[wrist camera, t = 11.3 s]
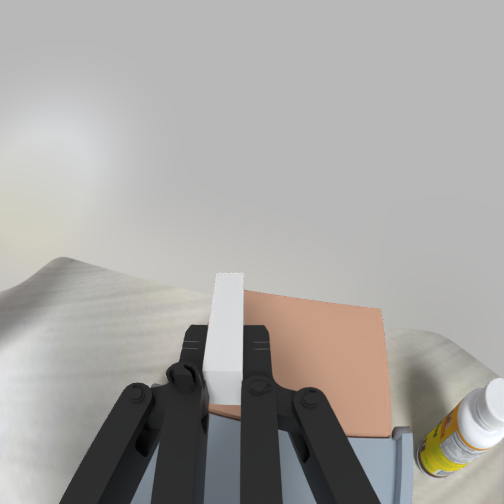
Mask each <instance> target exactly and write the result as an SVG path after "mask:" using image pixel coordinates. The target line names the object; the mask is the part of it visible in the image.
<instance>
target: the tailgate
mask: <svg viewBox="0 0 504 504" xmlns="http://www.w3.org/2000/svg"><path fill="white" fill-rule="evenodd" d="M207 325H209V322H208V324H207ZM244 325H265V327H266V328H267V330H268V332H269V337H270V350H271V362H272V374H273V378H274V380H275V381H276V382H277V383H278V384H279V385H280V386H282V387H284V388H287V389H291V390H295V391H298V390H300V389H302V388H304V387H314V388H317V389H319V390H321V391H322V392H323V393H324V394H325V395H326V397H327V399H328V401H329V403H330V405H331V407H332V409H333V411H334V413H335V415H336V417H337V419H338V421H339V423H340V425H341V427H342V428H343V430H344V432H345V434H346V436H347V437H356V438H387V437H388V436H389V435H390V434H391V402H390V385H389V372H388V361H387V352H386V343H385V335H384V328H383V321H382V314H381V309H377V308H368V307H360V306H351V305H343V304H335V303H328V302H320V301H313V300H306V299H299V298H292V297H286V296H279V295H273V294H266V293H260V292H254V291H248V290H244ZM208 409H209V413H211V414H215V415H218V416H222V417H226V418H230V419H234V420H238V421H241V405H221V404H210V401H209V408H208Z"/></svg>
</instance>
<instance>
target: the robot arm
mask: <svg viewBox="0 0 504 504" xmlns="http://www.w3.org/2000/svg"><path fill="white" fill-rule="evenodd" d="M166 376H167V378H168V381H169V383H168V384H166V385H162V386H157V387H152V388H149V387H148V386H147V385H145V384H144V383H132V384H130V385H128V386H127V387H126V388H125V389H124V390H123V392H122V394H121V395H120V397H119V399H118V400H117V402H116V404H115V405H114V407H113V409H112V410H111V412H110V414H109V415H108V417H107V419H106V420H105V422H104V424H103V425H102V427H101V429H100V431H99V432H98V434H97V436H96V437H95V439H94V441H93V443H92V444H91V446H90V448H89V450H88V451H87V453H86V455H85V457H84V458H83V460H82V462H81V464H80V466H79V467H78V469H77V471H76V473H75V475H74V477H73V478H72V480H71V482H70V484H69V486H68V488H67V490H66V491H65V493H64V495H63V497H62V499H61V501H60V503H59V504H130V503H131V501H132V499H133V497H134V495H135V493H136V491H137V488H138V486H139V484H140V482H141V480H142V478H143V476H144V473H145V471H146V469H147V467H148V465H149V463H150V461H151V458H152V456H153V454H154V452H155V450H156V448H157V446H158V444H159V448H158V454H157V460H156V467H155V474H154V480H153V488H152V495H151V503H150V504H204V489H205V472H206V457H207V443H208V430H209V417H210V414H209V409H208V408H209V401H210V404H221V405H241V431H240V504H283V497H282V481H281V465H280V450H279V436H278V430H282V431H286V432H288V435H289V438H290V440H291V443H292V445H293V448H294V450H295V453H296V455H297V458H298V460H299V463H300V465H301V467H302V470H303V472H304V475H305V477H306V480H307V482H308V484H309V487H310V489H311V492H312V494H313V496H314V499H315V501H316V503H317V504H381V502H380V500H379V498H378V497H377V495H376V493H375V491H374V489H373V487H372V485H371V483H370V481H369V479H368V477H367V475H366V473H365V471H364V469H363V467H362V465H361V463H360V462H359V460H358V458H357V456H356V454H355V452H354V450H353V448H352V446H351V444H350V442H349V440H348V438H347V436H346V434H345V432H344V430H343V428H342V427H341V425H340V423H339V421H338V419H337V417H336V415H335V413H334V411H333V409H332V407H331V405H330V403H329V401H328V399H327V397H326V395H325V394H324V393H323V392H322V391H321V390H319V389H317V388H314V387H304V388H302V389H300V390H298V391H295V390H291V389H287V388H284V387H282V386H280V385H279V384H278V383H277V382H276V381H275V380H274V378H273V374H272V362H271V350H270V337H269V332H268V330H267V328H266V327H265V325H244V273H217V275H216V281H215V287H214V293H213V300H212V306H211V313H210V319H209V325H191V326H190V327H189V328H188V330H187V331H186V332H185V337H184V342H183V346H182V351H181V355H180V360H179V362H178V363H175V364H173V365H172V366H170V367H169V368H168V370H167V372H166ZM159 441H160V442H159Z"/></svg>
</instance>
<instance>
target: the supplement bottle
mask: <svg viewBox="0 0 504 504" xmlns="http://www.w3.org/2000/svg"><path fill="white" fill-rule="evenodd" d="M503 437H504V379H503V378H495V379H493V380H491V381H490V382H489V383H488V384H487V385H486V386H485V387H484V388H478V389H475V390H473V391H471V392H470V393H469V394H467V395H466V396H465V397H464V398H463V399H462V401H461V402H460V403H459V404H458V405H457V406H456V407H455V408H454V409H453V410H452V411H451V412H450V413H449V414H448V415H447V416H446V417H445V418H444V419H443V420H442V421H441V422H440V423H439V424H438V425H437V426H436V427H435V428H434V429H433V430H432V431H431V432H429V433H428V434H427V435H426V436H425V437H424V439H423V440H422V441H421V443H420V445H419V447H418V451H417V463H418V466H419V468H420V470H421V471H422V472H423V473H424V474H425V475H427V476H429V477H431V478H444V477H446V476H449V475H451V474H452V473H454V472H456V471H458V470H459V469H461V468H463V467H464V466H466V465H467V464H469V463H471V462H472V461H474V460H475V459H476V458H478V457H479V456H481V455H482V454H484V453H485V452H486V451H488V450H489V449H491V448H492V447H493V446H495V445H496V444H497V443H498V442H499V441H500V440H501V439H502V438H503Z"/></svg>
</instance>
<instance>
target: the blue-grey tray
mask: <svg viewBox="0 0 504 504" xmlns="http://www.w3.org/2000/svg"><path fill="white" fill-rule="evenodd" d="M157 386H161V385H158V384H156V383H154V384H153V385H152V386H151V388H152V387H157ZM209 414H210V413H209ZM240 431H241V422H240V421H236V420H232V419H228V418H224V417H221V416H217V415H213V414H210V417H209V430H208V443H207V457H206V472H205V489H204V504H240ZM278 436H279V450H280V465H281V481H282V497H283V504H317V503H316V501H315V499H314V496H313V494H312V492H311V489H310V487H309V484H308V482H307V480H306V477H305V475H304V472H303V470H302V467H301V465H300V463H299V460H298V458H297V455H296V453H295V450H294V448H293V445H292V443H291V440H290V438H289V435H288V432H286V431H282V430H278ZM347 438H348V440H349V442H350V444H351V446H352V448H353V450H354V452H355V454H356V456H357V458H358V460H359V462H360V463H361V465H362V467H363V469H364V471H365V473H366V475H367V477H368V479H369V481H370V483H371V485H372V487H373V489H374V491H375V493H376V495H377V497H378V498H379V500H380V502H381V504H412V492H413V433H410V427H409V426H406V427H394V429H393V431H392V438H387V439H378V438H349V437H347ZM159 442H160V441H159ZM158 448H159V444H158V446H157V448H156V450H155V452H154V454H153V456H152V458H151V461H150V463H149V465H148V467H147V469H146V471H145V473H144V476H143V478H142V480H141V482H140V484H139V486H138V488H137V491H136V493H135V495H134V497H133V499H132V501H131V503H130V504H150V503H151V495H152V488H153V480H154V474H155V467H156V460H157V454H158Z"/></svg>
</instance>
